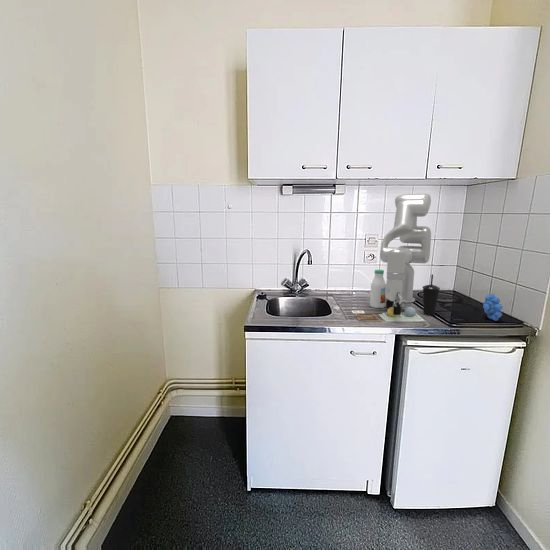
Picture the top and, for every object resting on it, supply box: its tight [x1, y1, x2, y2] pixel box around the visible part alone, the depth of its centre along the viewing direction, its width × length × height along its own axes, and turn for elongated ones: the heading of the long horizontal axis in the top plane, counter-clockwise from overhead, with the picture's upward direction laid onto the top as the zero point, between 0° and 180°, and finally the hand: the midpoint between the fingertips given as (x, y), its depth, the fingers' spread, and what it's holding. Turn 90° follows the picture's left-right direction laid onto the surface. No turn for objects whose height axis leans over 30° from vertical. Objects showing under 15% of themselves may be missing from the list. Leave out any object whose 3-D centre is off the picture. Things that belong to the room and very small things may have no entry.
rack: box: [378, 312, 426, 323], centre depth 145 cm, size 10×18×2 cm, turn 89°
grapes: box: [482, 293, 503, 322], centre depth 141 cm, size 12×7×12 cm, turn 177°
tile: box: [351, 310, 366, 315], centre depth 154 cm, size 4×6×1 cm, turn 89°
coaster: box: [353, 313, 382, 323], centre depth 145 cm, size 10×10×1 cm
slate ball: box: [403, 306, 417, 317], centre depth 144 cm, size 5×5×5 cm
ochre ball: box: [386, 306, 398, 317], centre depth 144 cm, size 5×5×5 cm
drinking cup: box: [422, 273, 441, 317], centre depth 149 cm, size 8×8×20 cm
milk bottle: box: [369, 269, 386, 309], centre depth 163 cm, size 8×8×20 cm
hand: (393, 311), depth 144 cm, fingers open, 9 cm apart
